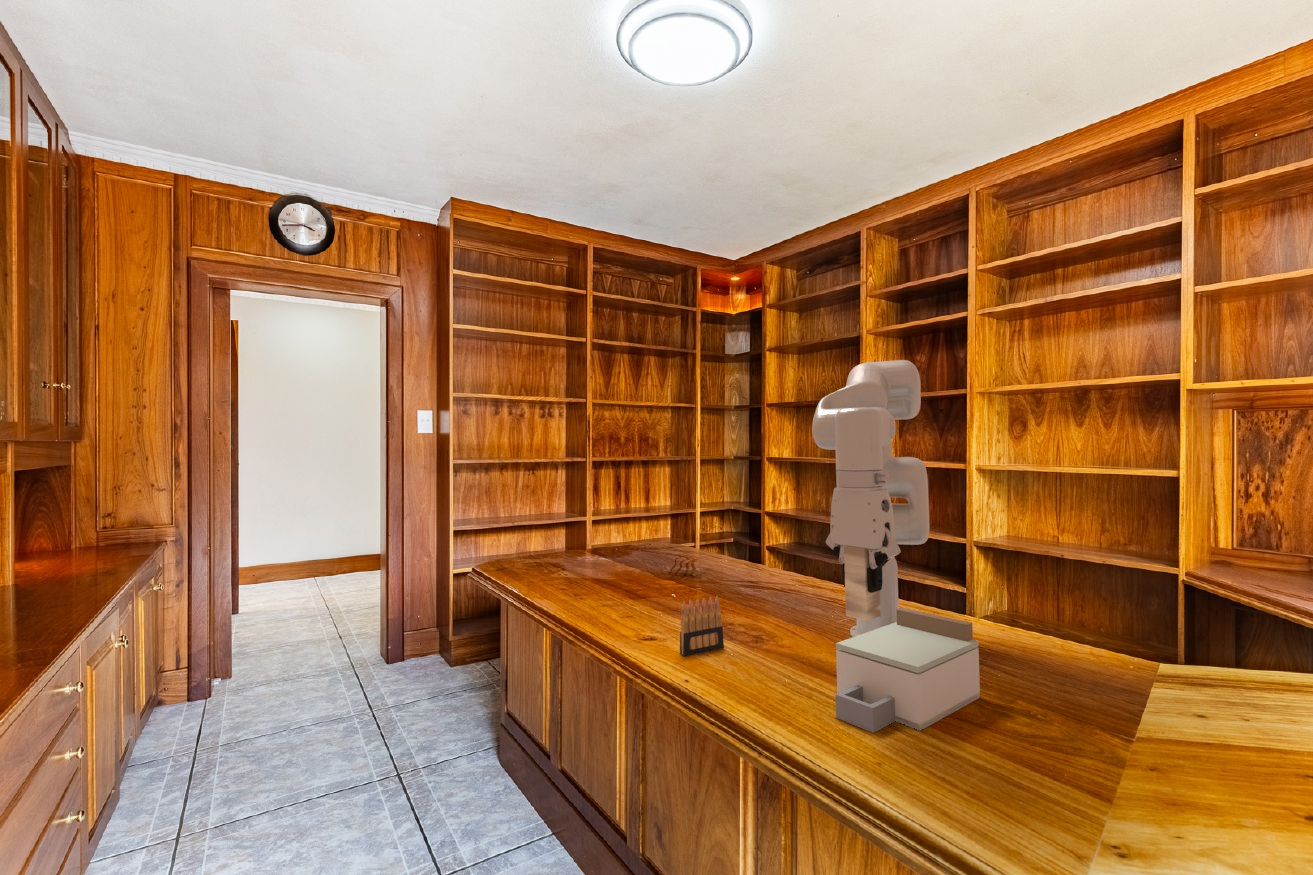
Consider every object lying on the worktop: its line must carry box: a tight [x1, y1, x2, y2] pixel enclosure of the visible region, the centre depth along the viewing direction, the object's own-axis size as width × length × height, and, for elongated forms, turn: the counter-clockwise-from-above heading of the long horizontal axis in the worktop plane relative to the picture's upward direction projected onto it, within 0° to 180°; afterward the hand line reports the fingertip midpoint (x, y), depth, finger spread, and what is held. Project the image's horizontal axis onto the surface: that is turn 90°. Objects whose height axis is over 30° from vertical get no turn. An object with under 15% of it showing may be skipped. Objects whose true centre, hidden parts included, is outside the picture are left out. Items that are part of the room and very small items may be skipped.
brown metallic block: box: [844, 545, 881, 621], centre depth 106 cm, size 4×4×12 cm
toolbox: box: [834, 646, 981, 734], centre depth 112 cm, size 26×16×9 cm, turn 127°
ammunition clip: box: [679, 595, 725, 657], centre depth 142 cm, size 11×2×12 cm, turn 118°
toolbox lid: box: [835, 607, 979, 673], centre depth 114 cm, size 20×16×4 cm
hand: (862, 587), depth 106 cm, fingers closed on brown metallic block, 4 cm apart
